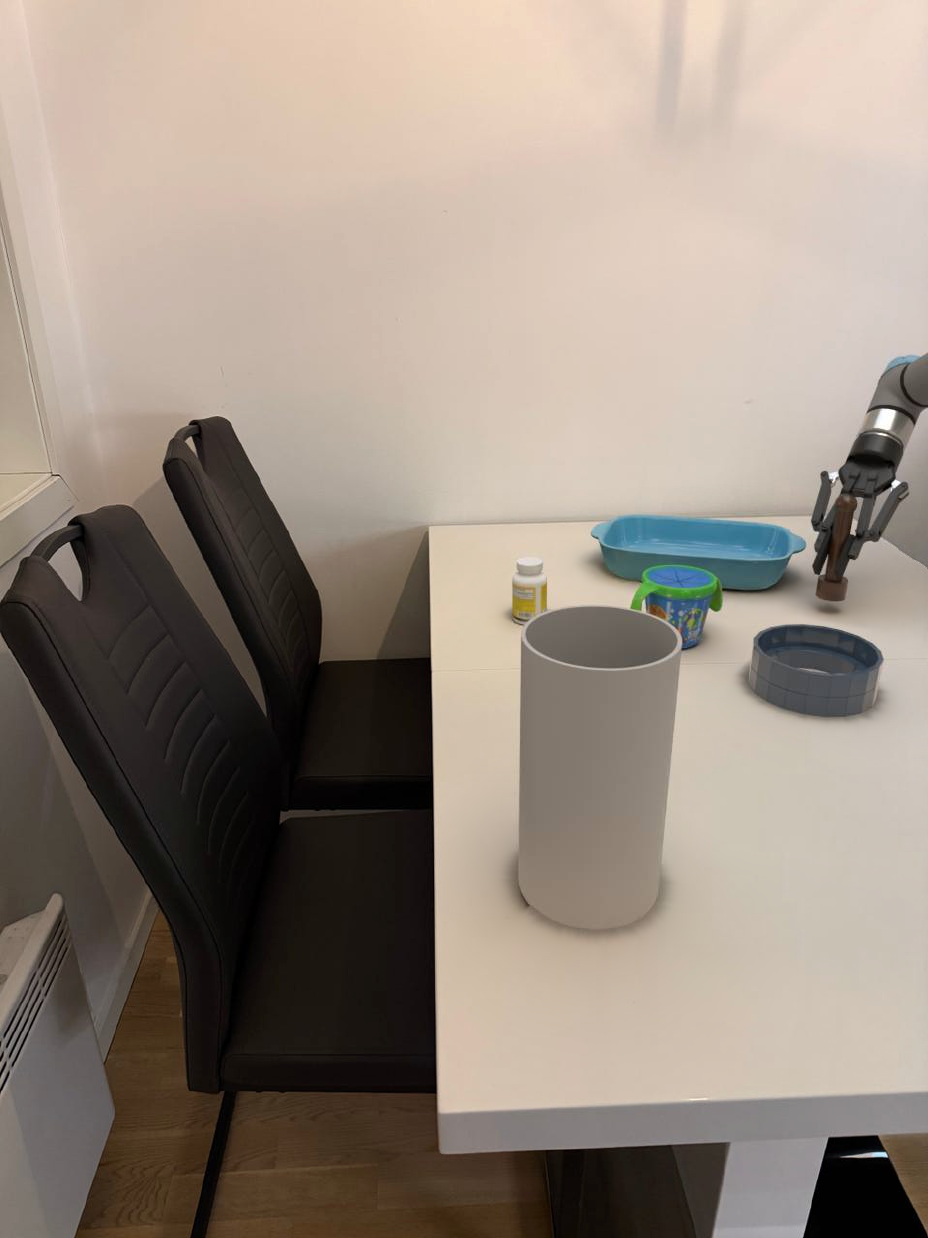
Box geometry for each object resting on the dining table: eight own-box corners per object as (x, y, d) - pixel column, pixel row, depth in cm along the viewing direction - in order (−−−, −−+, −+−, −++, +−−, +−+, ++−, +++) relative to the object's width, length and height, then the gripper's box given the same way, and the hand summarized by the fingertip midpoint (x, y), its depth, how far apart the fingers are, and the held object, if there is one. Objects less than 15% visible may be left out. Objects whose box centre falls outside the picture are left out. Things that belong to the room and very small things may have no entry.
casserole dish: (578, 581, 147) (580, 542, 145) (601, 543, 167) (603, 508, 164) (802, 604, 136) (808, 562, 133) (799, 561, 156) (804, 523, 153)
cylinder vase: (645, 843, 81) (665, 604, 71) (669, 939, 70) (697, 670, 60) (516, 841, 82) (519, 605, 72) (519, 936, 70) (523, 670, 61)
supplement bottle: (536, 610, 136) (537, 553, 132) (552, 622, 131) (554, 563, 127) (506, 616, 134) (506, 558, 130) (521, 628, 129) (522, 568, 125)
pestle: (848, 594, 133) (866, 492, 127) (841, 603, 130) (859, 499, 123) (819, 589, 135) (835, 488, 129) (812, 597, 132) (828, 495, 126)
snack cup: (697, 619, 131) (703, 557, 127) (740, 645, 122) (748, 580, 118) (609, 635, 126) (613, 571, 122) (646, 663, 117) (651, 595, 113)
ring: (885, 685, 110) (894, 640, 107) (858, 736, 99) (868, 687, 96) (768, 658, 118) (774, 615, 116) (731, 701, 107) (737, 655, 104)
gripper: (934, 465, 131) (883, 595, 126) (831, 453, 140) (780, 573, 136) (932, 437, 125) (878, 572, 120) (825, 426, 135) (771, 550, 130)
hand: (826, 572), depth 128 cm, fingers closed on pestle, 3 cm apart
